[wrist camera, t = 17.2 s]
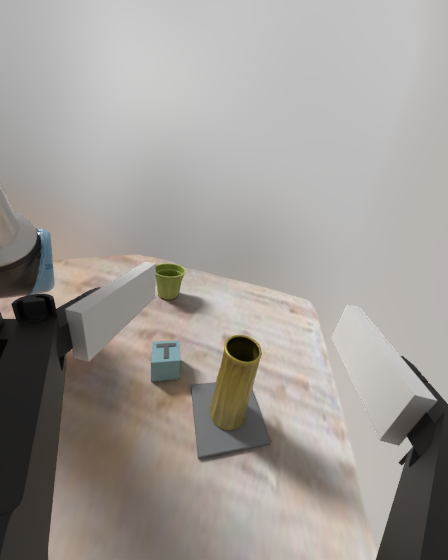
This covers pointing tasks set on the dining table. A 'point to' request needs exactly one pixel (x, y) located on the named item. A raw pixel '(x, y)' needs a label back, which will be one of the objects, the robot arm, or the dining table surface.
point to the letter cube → (165, 361)
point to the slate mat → (218, 439)
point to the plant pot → (169, 280)
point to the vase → (235, 382)
